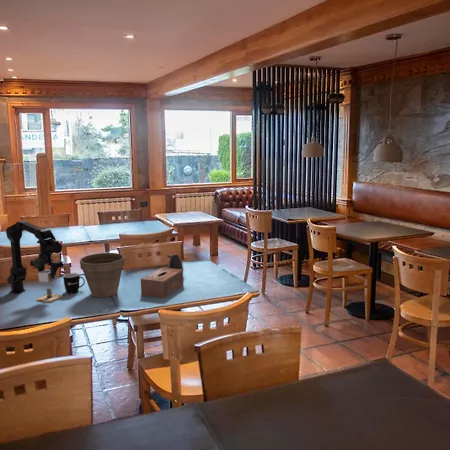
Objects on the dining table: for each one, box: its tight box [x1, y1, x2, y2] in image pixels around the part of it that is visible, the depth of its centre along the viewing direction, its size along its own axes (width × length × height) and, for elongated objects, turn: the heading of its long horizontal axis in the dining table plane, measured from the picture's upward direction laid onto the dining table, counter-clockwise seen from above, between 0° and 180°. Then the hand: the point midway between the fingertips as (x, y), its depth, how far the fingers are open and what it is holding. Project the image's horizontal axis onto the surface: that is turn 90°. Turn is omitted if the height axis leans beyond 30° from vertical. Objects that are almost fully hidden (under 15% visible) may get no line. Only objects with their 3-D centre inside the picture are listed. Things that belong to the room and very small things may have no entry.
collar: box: [37, 269, 57, 283], centre depth 272 cm, size 7×7×5 cm
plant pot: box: [79, 252, 125, 298], centre depth 281 cm, size 25×25×22 cm
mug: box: [62, 272, 86, 294], centre depth 287 cm, size 12×9×10 cm
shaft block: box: [35, 287, 63, 304], centre depth 274 cm, size 10×10×6 cm
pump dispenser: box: [166, 253, 184, 271], centre depth 315 cm, size 10×10×15 cm
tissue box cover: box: [140, 267, 184, 299], centre depth 289 cm, size 26×14×10 cm, turn 159°
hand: (47, 278), depth 273 cm, fingers closed on collar, 7 cm apart
